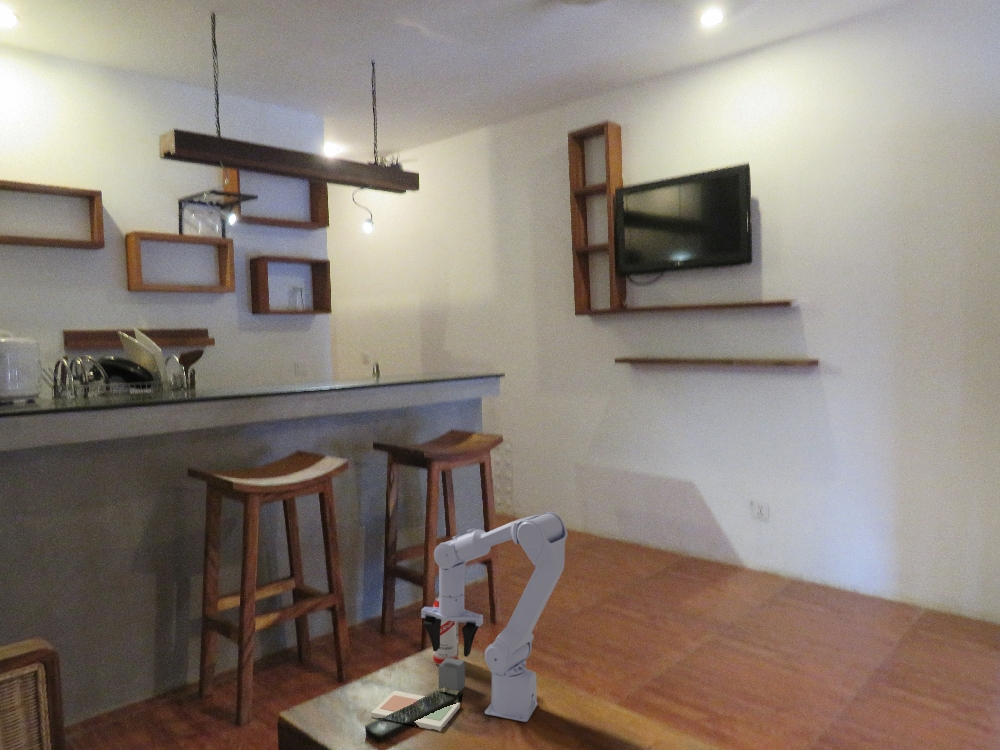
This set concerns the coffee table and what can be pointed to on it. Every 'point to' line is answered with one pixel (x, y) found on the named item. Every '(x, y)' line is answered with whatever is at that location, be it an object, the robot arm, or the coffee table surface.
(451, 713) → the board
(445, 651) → the beer can
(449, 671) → the block
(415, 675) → the coffee table surface
